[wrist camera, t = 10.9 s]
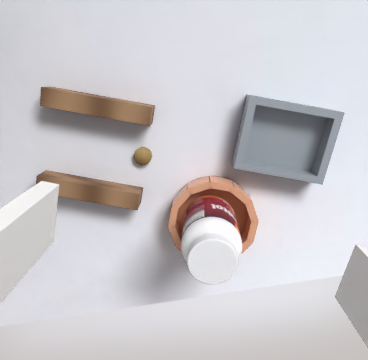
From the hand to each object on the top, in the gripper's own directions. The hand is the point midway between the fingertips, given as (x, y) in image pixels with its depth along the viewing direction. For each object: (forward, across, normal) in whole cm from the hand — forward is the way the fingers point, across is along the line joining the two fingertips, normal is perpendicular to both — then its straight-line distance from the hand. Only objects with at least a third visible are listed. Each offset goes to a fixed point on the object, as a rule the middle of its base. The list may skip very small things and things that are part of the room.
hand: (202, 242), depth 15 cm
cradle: (+26, -11, -3) cm, 28 cm away
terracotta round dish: (+25, +4, -9) cm, 27 cm away
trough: (+25, +10, +2) cm, 27 cm away
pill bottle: (+25, +4, -9) cm, 27 cm away
